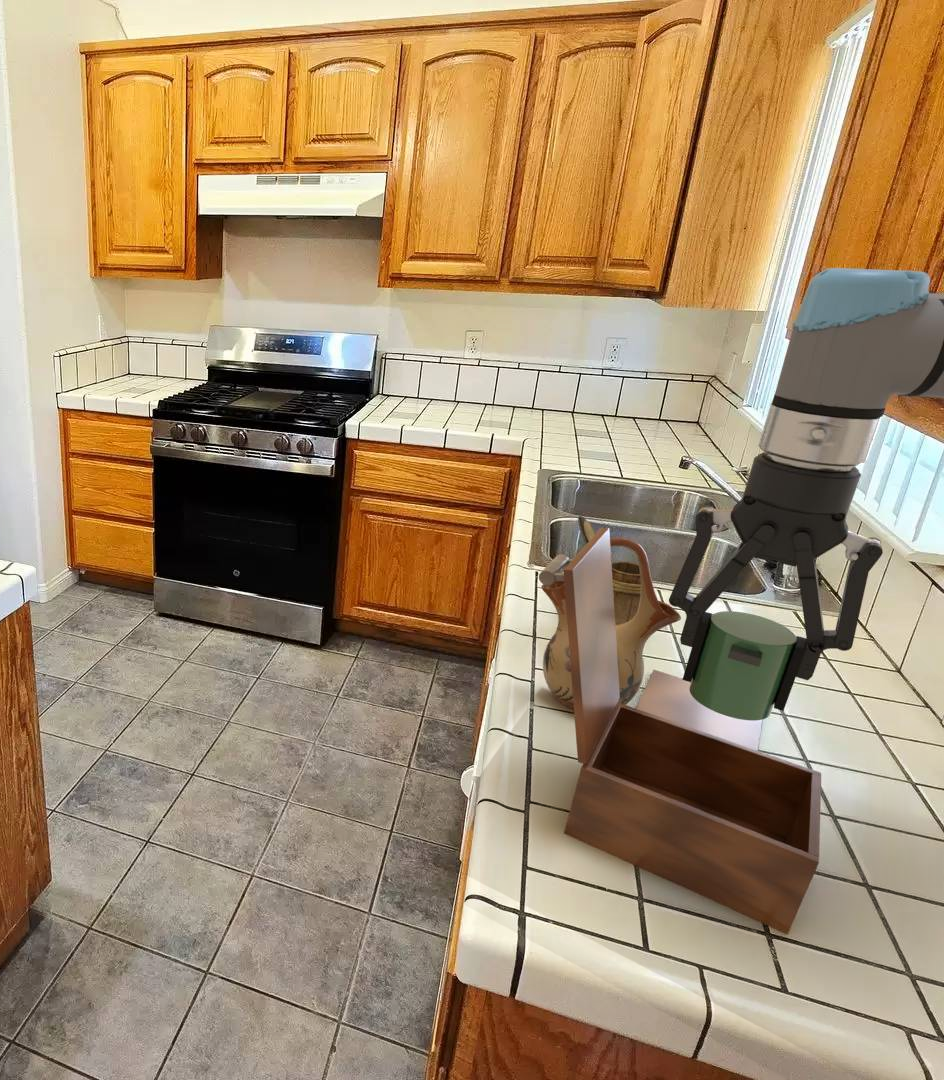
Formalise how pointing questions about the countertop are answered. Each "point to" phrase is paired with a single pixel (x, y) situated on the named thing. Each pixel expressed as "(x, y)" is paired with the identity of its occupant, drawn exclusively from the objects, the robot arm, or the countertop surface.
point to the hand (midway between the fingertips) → (732, 688)
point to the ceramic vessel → (627, 635)
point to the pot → (742, 665)
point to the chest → (701, 814)
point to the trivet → (694, 711)
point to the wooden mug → (619, 581)
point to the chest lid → (589, 636)
